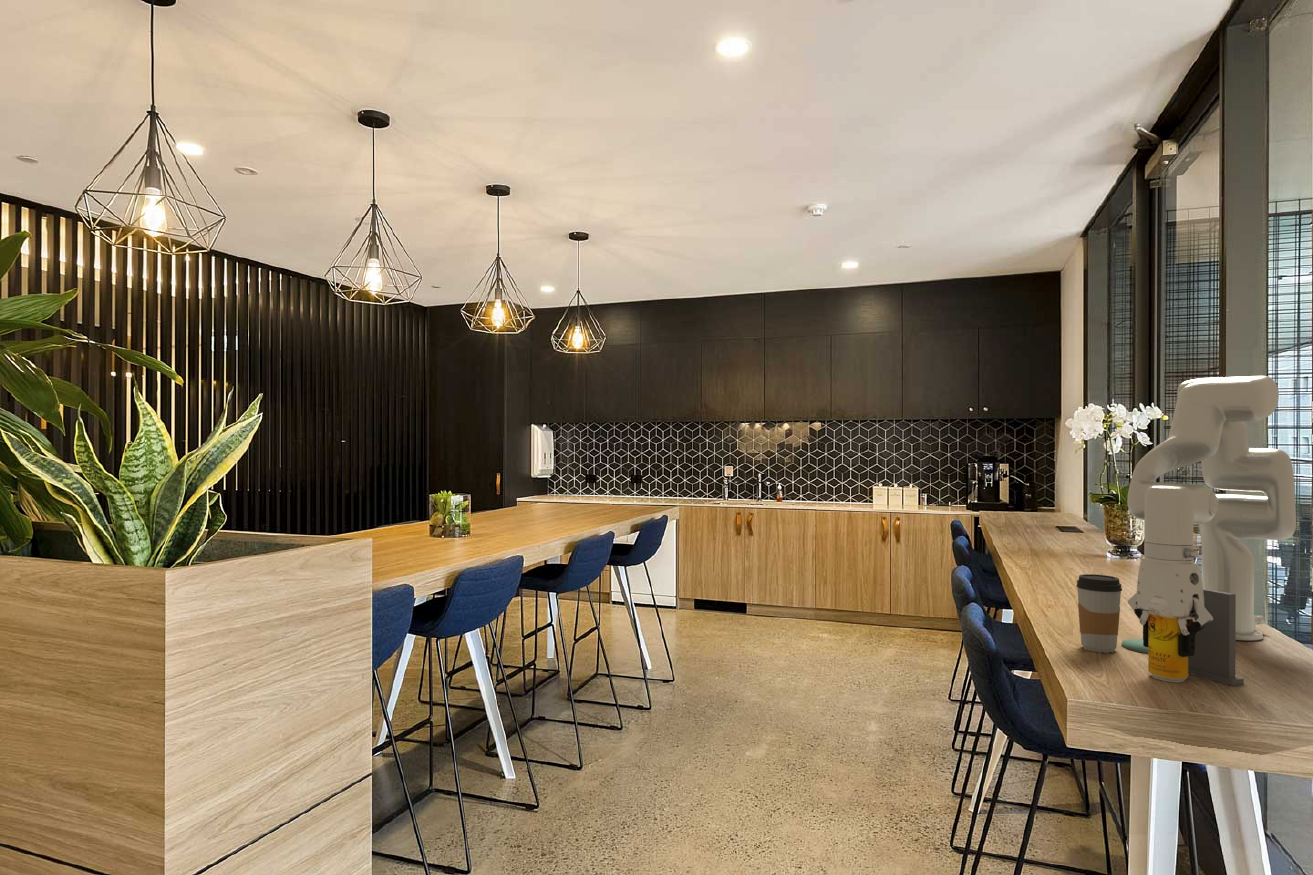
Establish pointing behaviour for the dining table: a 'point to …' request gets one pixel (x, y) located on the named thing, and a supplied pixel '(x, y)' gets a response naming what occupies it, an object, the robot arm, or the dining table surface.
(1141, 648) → the coaster
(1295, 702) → the dining table surface
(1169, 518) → the robot arm
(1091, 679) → the dining table surface
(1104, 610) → the coffee cup
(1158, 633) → the beer can
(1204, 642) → the screen
